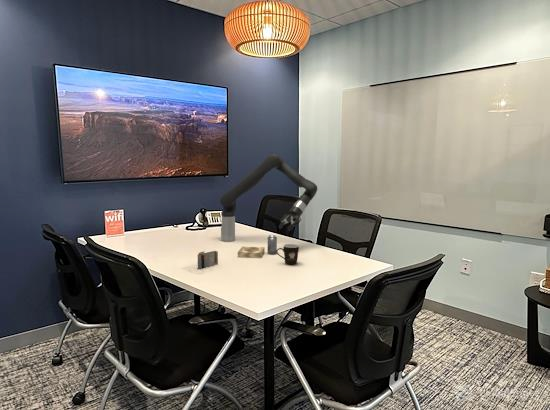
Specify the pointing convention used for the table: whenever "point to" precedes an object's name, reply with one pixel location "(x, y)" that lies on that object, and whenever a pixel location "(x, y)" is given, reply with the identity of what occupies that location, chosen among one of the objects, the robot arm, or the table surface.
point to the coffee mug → (290, 253)
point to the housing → (272, 245)
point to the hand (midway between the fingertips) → (284, 229)
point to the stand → (251, 252)
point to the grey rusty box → (207, 259)
